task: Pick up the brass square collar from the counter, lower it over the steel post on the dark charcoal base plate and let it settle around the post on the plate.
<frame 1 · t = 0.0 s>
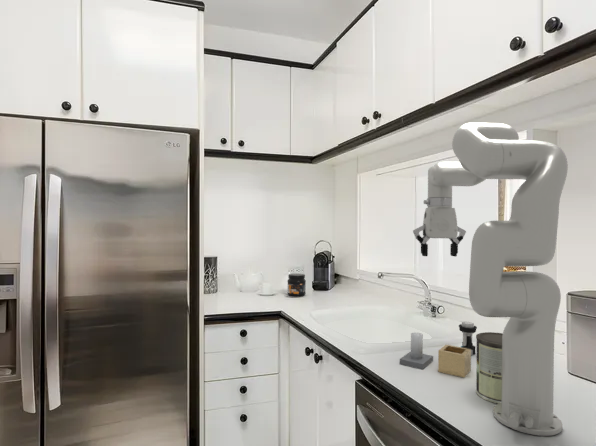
hand: (439, 256, 128), 31 cm above the counter, tool pointing down, fingers open, 9 cm apart
piston block: (416, 362, 118), on the counter
collar: (454, 370, 111), on the counter
supplement container: (296, 295, 225), on the counter
coffee can: (498, 396, 95), on the counter
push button: (466, 355, 125), on the counter
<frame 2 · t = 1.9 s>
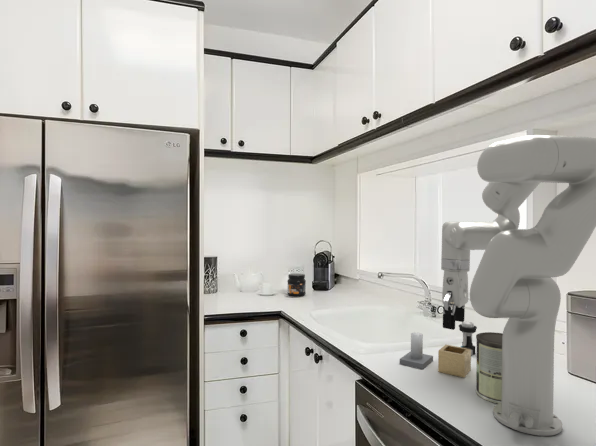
hand: (453, 324, 112), 13 cm above the counter, tool pointing down, fingers open, 9 cm apart
nothing on the counter moved.
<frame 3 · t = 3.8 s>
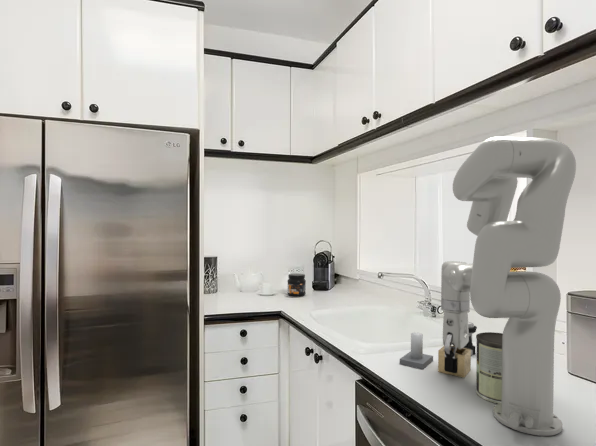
hand: (454, 367, 111), 1 cm above the counter, tool pointing down, fingers closed on collar, 7 cm apart
collar: (454, 370, 111), on the counter, touching gripper
everything else where it was.
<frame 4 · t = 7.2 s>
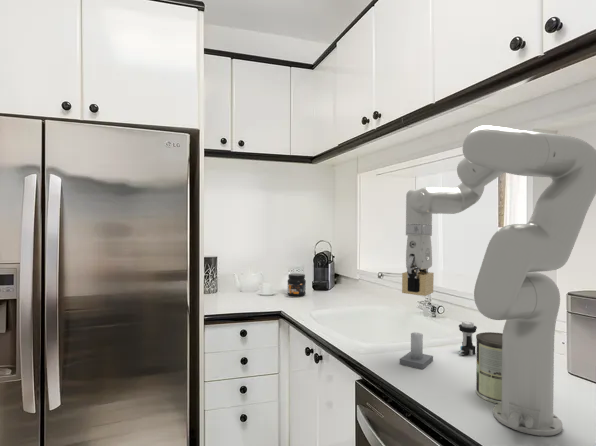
hand: (417, 289, 118), 22 cm above the counter, tool pointing down, fingers closed on collar, 7 cm apart
collar: (417, 292, 118), point 21 cm above the counter, touching gripper
everything else where it was.
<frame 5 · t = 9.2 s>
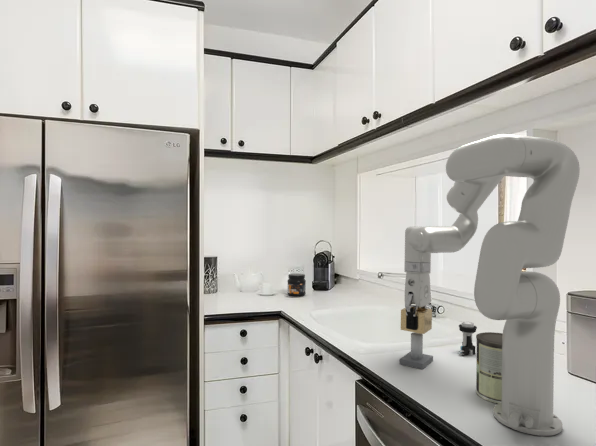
hand: (416, 326, 118), 11 cm above the counter, tool pointing down, fingers closed on collar, 7 cm apart
collar: (416, 329, 118), point 10 cm above the counter, touching gripper
everything else where it was.
when the fingers open (5 cm above the counter, at t = 10.9 s): collar drops 3 cm, resting on piston block.
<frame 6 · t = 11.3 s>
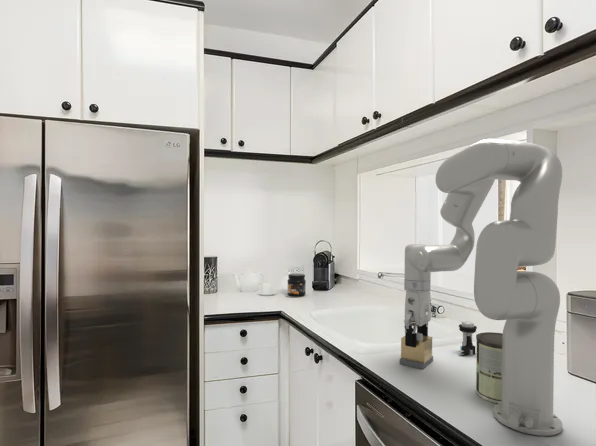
hand: (416, 342, 118), 6 cm above the counter, tool pointing down, fingers open, 9 cm apart
collar: (416, 357, 118), point 1 cm above the counter, touching piston block
everything else where it was.
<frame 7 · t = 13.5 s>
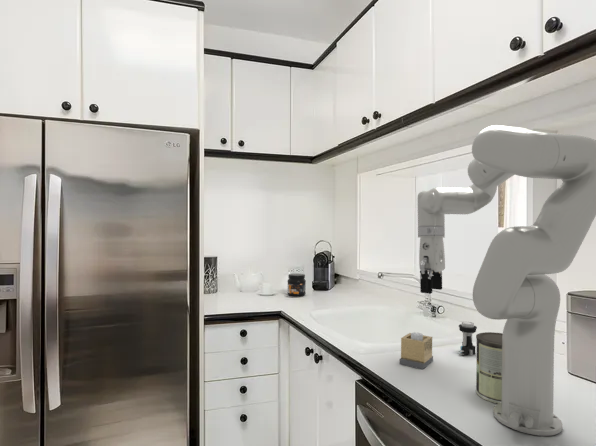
hand: (431, 291, 115), 22 cm above the counter, tool pointing down, fingers open, 9 cm apart
nothing on the counter moved.
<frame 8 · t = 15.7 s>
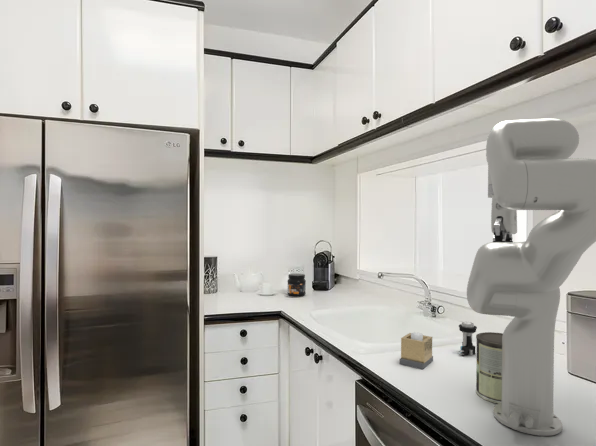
hand: (502, 256, 104), 33 cm above the counter, tool pointing down, fingers open, 9 cm apart
nothing on the counter moved.
at the end: collar 0.0 cm off-centre on the piston block, point 1.5 cm above the piston block's base; collar tilted 0°; the gripper is holding nothing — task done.
